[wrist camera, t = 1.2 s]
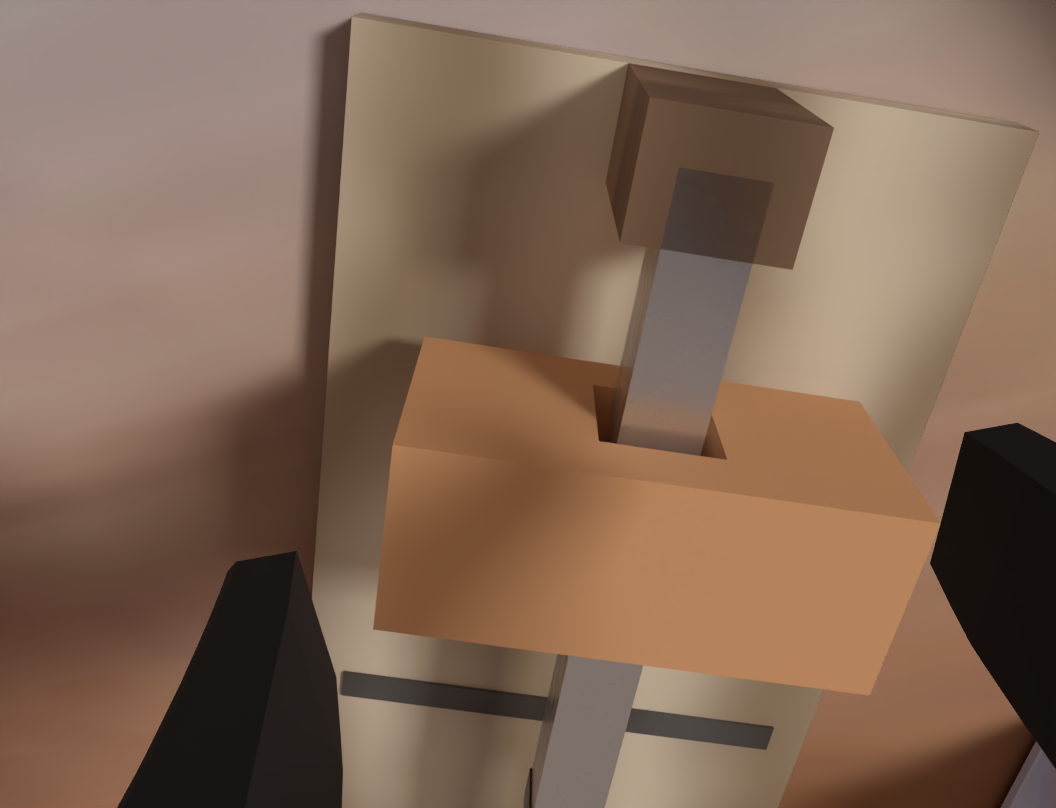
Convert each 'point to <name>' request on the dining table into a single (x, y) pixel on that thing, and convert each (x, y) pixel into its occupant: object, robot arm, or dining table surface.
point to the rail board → (612, 345)
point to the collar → (646, 525)
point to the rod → (656, 423)
